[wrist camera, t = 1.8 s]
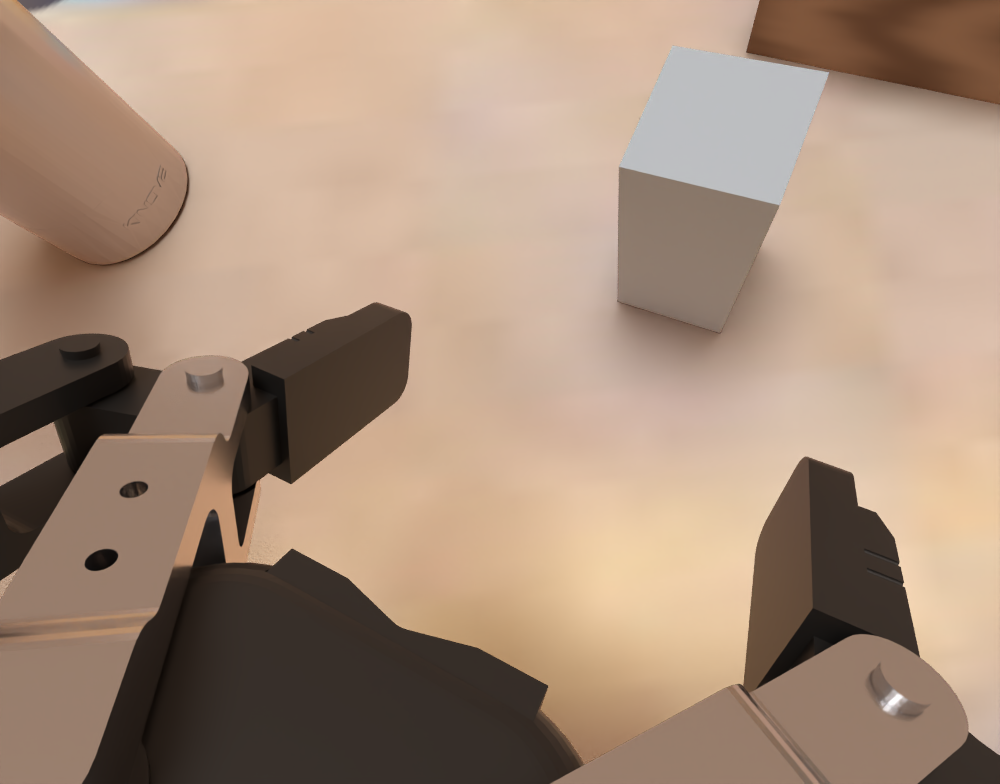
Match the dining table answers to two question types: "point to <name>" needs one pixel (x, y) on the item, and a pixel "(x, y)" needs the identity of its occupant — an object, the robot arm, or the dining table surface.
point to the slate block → (707, 179)
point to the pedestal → (889, 41)
